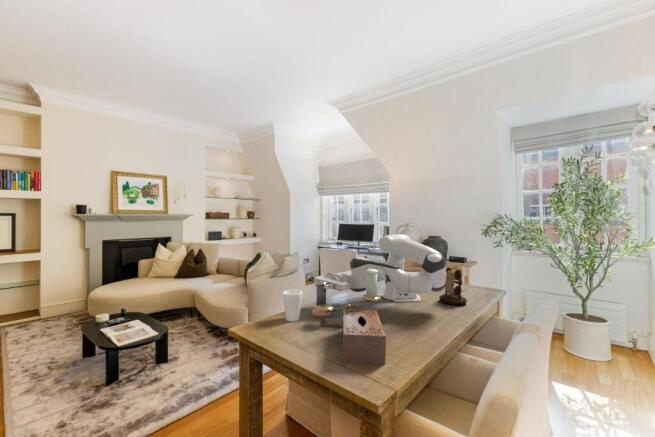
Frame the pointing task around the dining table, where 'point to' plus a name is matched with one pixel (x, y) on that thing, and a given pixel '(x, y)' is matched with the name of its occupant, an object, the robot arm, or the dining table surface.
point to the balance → (330, 308)
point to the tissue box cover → (363, 337)
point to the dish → (320, 313)
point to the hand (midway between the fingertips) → (320, 285)
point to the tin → (321, 293)
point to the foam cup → (292, 304)
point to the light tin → (371, 283)
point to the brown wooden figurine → (453, 292)
